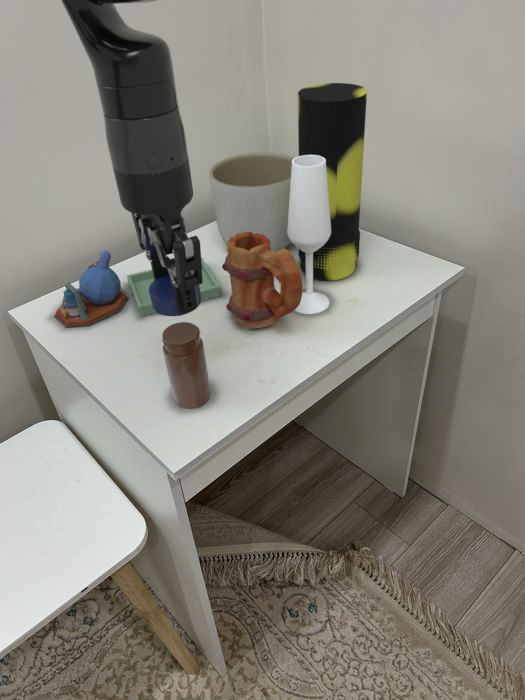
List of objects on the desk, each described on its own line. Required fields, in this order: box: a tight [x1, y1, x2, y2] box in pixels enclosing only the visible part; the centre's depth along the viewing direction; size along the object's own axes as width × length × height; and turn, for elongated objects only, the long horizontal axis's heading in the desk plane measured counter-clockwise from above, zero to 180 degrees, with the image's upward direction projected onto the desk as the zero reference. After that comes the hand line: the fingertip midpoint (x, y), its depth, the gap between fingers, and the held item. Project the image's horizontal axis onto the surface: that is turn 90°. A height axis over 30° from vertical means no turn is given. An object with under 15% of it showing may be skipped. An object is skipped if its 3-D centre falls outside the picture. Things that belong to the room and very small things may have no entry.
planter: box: [208, 151, 295, 252], centre depth 104 cm, size 17×17×15 cm
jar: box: [161, 321, 212, 410], centre depth 72 cm, size 5×5×11 cm
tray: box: [126, 257, 222, 318], centre depth 96 cm, size 14×11×2 cm
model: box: [53, 250, 129, 329], centre depth 91 cm, size 12×9×9 cm
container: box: [297, 82, 368, 282], centre depth 91 cm, size 11×11×30 cm
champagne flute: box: [287, 155, 331, 315], centre depth 84 cm, size 7×7×24 cm
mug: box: [221, 232, 304, 329], centre depth 82 cm, size 15×8×15 cm, turn 42°
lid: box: [149, 274, 202, 317], centre depth 64 cm, size 6×6×2 cm
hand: (175, 297), depth 65 cm, fingers closed on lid, 5 cm apart
